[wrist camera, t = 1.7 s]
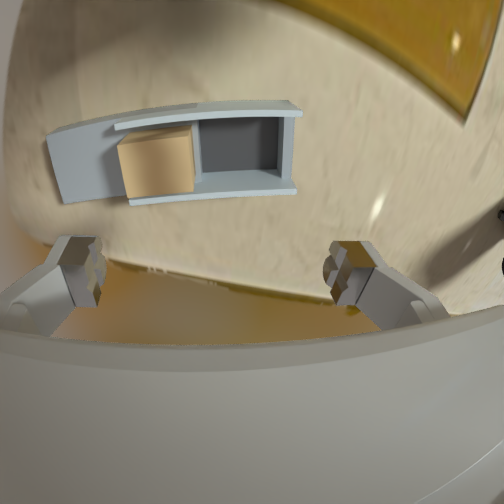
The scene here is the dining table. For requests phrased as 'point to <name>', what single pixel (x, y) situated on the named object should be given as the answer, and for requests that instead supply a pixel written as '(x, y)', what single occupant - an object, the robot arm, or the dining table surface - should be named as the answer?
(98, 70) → the dining table surface
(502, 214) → the coffee press
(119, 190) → the trap trough
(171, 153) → the oak block
